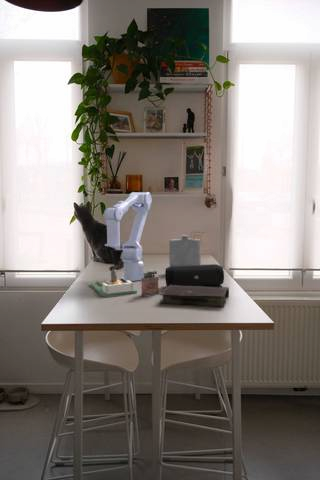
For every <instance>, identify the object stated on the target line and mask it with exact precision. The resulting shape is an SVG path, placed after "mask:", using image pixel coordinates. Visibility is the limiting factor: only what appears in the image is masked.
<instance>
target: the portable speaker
mask: <svg viewBox="0 0 320 480" xmlns="http://www.w3.org/2000/svg"><path fill="white" fill-rule="evenodd" d="M164 271H165V275H164V276H165V277H164V278H165V286H166V287H168V286H169V285H180V286H205V287H220V285H223V284H224V282H225V271H224V267H223V266H222V265H220V264H215V263H214V264H201V265H183V266H170V265H169V266H168V267H166V268H165V270H164Z"/></svg>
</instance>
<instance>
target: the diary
mask: <svg viewBox="0 0 320 480" xmlns="http://www.w3.org/2000/svg"><path fill="white" fill-rule="evenodd" d="M229 295H230V288H229V286H228V287H227V286H221V287H220V286H212V287H205V286H180V285H169V286H166V287H165V288H164V289H163V290H162V291H161V292H159V296H162V301H160V302H159V304H161V305H167V306H184V307H185V306H186V307H208V308H217V309H224V307H225V305H226V302H227V301H226V298H228V297H229Z"/></svg>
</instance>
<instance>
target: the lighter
mask: <svg viewBox="0 0 320 480" xmlns="http://www.w3.org/2000/svg"><path fill="white" fill-rule="evenodd" d="M159 278H160V276H159V275H158V271H157V270H152V271H149V270H148V271H146V272H145V271H144V277H142V278H141V280H140V281H141V296H142V297H146V296H147V297H148V296H155V295H160V291H159V288H160V287H159Z"/></svg>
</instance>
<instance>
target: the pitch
mask: <svg viewBox="0 0 320 480" xmlns="http://www.w3.org/2000/svg"><path fill="white" fill-rule="evenodd" d="M119 280H120V281H122V284H123V283H125V281H123V280H122V279H119ZM102 283H106V281H100V280H96V282H91V283H89V285H90V287H91V288H92V289H93V290H95V291H96V292H97V293H98V294H100V295H101V296H102V297H103V298H105V297H107V298H108V297H115V296H124V295H132V293H133V294H137V293H138V292H137V290H136V289H135V288H133V291H128V292H119V293H110V294H106V293H105V292H103V290H102Z"/></svg>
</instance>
